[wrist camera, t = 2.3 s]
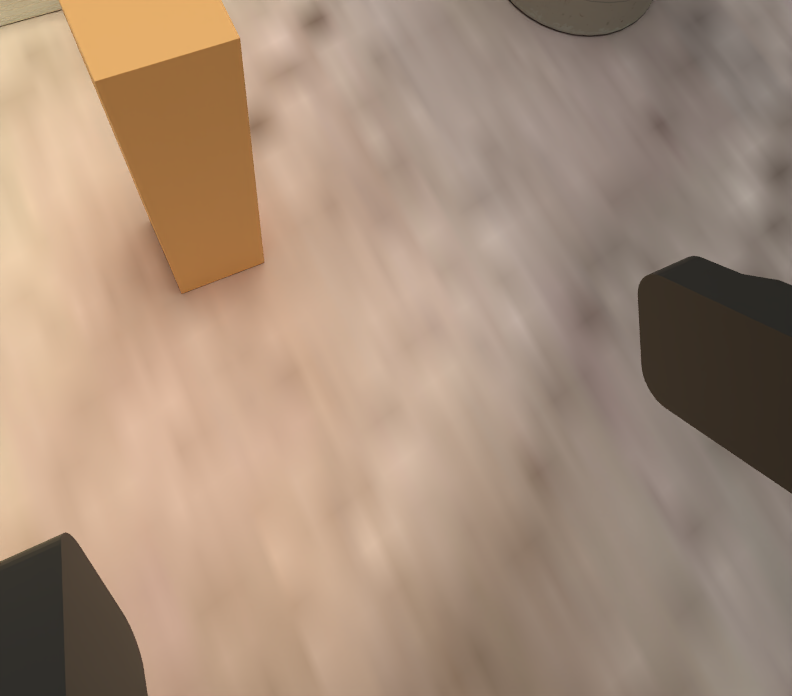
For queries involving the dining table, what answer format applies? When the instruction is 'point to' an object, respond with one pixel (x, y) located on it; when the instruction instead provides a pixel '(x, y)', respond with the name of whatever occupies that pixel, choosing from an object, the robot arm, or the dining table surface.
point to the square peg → (178, 125)
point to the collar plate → (25, 9)
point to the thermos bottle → (584, 14)
